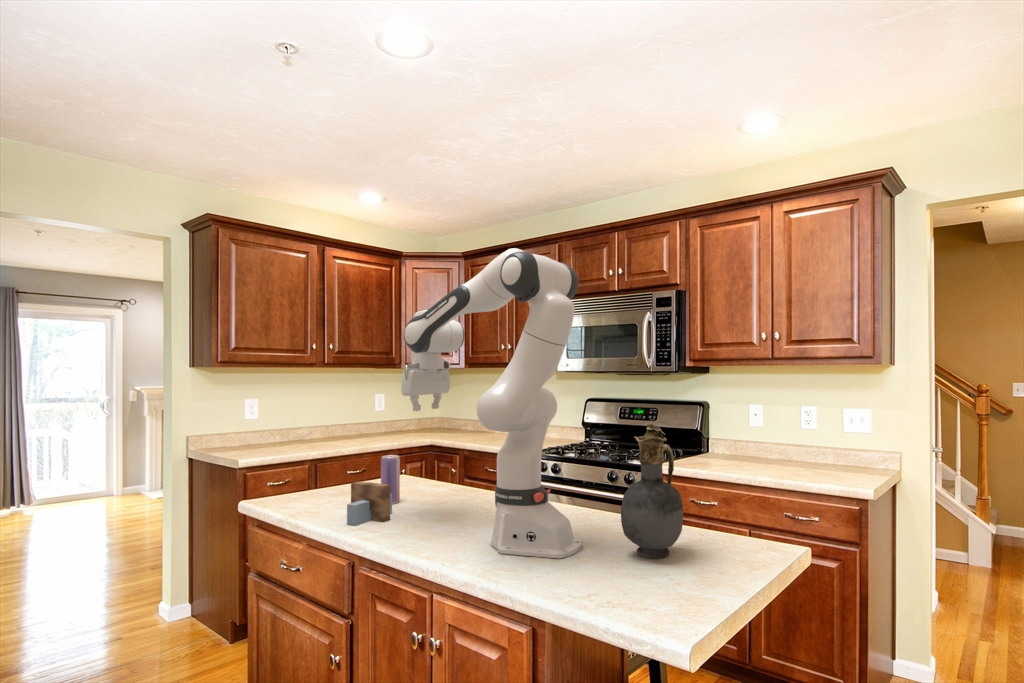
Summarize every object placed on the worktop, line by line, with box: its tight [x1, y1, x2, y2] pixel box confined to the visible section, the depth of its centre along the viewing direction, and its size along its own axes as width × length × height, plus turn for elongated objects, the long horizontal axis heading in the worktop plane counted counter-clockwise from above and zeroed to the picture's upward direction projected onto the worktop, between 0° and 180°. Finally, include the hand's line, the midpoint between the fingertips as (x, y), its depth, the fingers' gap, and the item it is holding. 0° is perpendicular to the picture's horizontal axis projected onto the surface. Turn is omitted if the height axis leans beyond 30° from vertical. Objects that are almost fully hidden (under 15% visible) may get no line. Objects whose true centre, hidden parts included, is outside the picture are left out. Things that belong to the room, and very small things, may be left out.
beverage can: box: [380, 454, 401, 505], centre depth 194 cm, size 6×6×15 cm
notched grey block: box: [346, 494, 393, 526], centre depth 174 cm, size 3×16×6 cm, turn 153°
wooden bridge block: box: [350, 480, 391, 523], centre depth 174 cm, size 12×3×10 cm, turn 63°
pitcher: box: [620, 423, 684, 560], centre depth 141 cm, size 11×19×30 cm, turn 141°
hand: (426, 409), depth 179 cm, fingers open, 8 cm apart
